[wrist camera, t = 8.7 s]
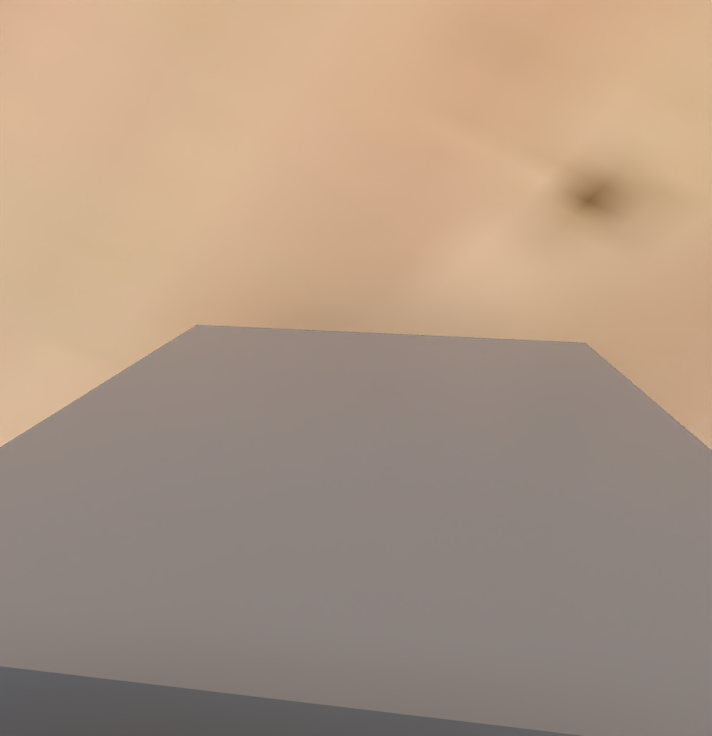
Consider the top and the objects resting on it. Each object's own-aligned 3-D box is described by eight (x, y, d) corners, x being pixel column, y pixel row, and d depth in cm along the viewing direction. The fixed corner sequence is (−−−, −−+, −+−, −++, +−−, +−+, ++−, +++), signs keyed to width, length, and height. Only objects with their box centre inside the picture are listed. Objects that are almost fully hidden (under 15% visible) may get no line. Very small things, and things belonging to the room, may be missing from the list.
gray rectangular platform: (584, 342, 9) (1122, 799, 2) (527, 640, 12) (690, 1258, 5) (196, 325, 10) (-296, 630, 3) (226, 609, 12) (3, 1114, 6)
